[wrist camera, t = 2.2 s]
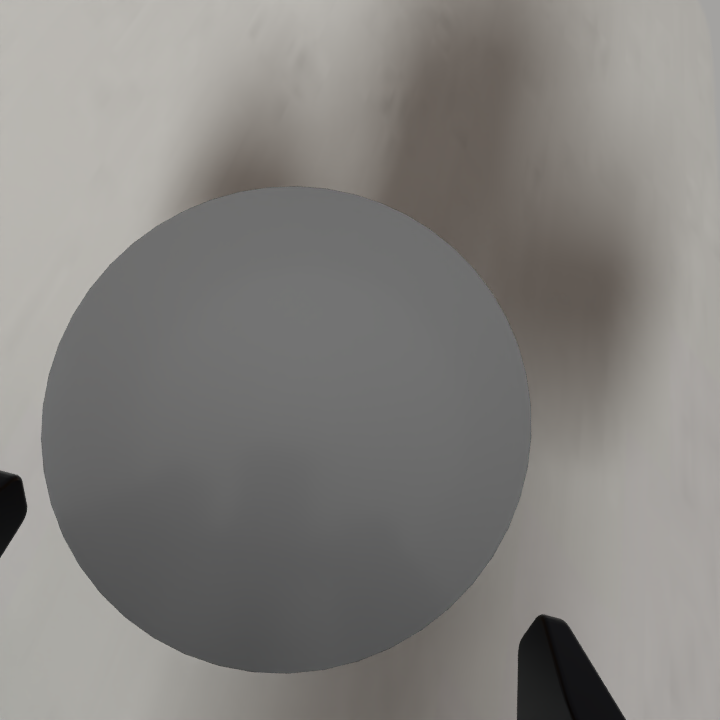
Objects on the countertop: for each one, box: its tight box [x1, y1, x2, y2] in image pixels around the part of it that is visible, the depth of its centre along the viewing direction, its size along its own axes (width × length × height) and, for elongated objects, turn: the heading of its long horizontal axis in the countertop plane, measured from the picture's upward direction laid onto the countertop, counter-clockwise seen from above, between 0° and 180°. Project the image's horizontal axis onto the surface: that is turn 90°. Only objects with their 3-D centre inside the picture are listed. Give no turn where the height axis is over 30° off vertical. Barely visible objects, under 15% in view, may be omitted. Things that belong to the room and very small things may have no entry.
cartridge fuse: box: [41, 186, 531, 673], centre depth 12 cm, size 5×5×15 cm
